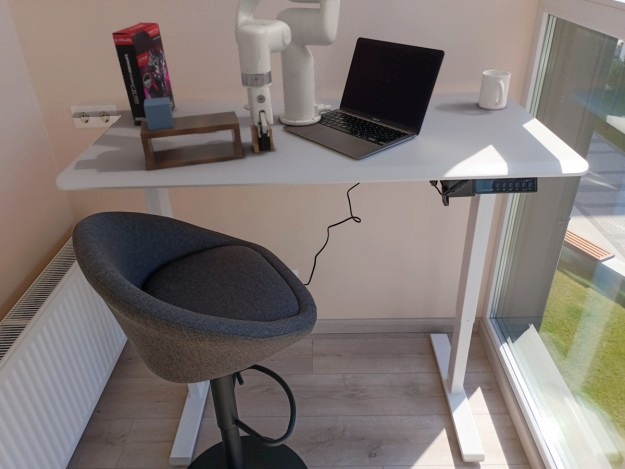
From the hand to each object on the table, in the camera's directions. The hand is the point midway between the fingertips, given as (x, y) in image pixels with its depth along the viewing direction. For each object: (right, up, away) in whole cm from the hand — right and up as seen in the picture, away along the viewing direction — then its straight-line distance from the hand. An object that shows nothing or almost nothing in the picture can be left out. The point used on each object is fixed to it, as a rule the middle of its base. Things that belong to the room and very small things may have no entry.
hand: (262, 144), depth 136 cm
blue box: (-24, +3, -9) cm, 26 cm away
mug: (+70, +16, +23) cm, 76 cm away
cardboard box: (0, -1, +1) cm, 1 cm away
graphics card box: (-37, +13, +27) cm, 48 cm away
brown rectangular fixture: (-17, -4, -3) cm, 18 cm away
